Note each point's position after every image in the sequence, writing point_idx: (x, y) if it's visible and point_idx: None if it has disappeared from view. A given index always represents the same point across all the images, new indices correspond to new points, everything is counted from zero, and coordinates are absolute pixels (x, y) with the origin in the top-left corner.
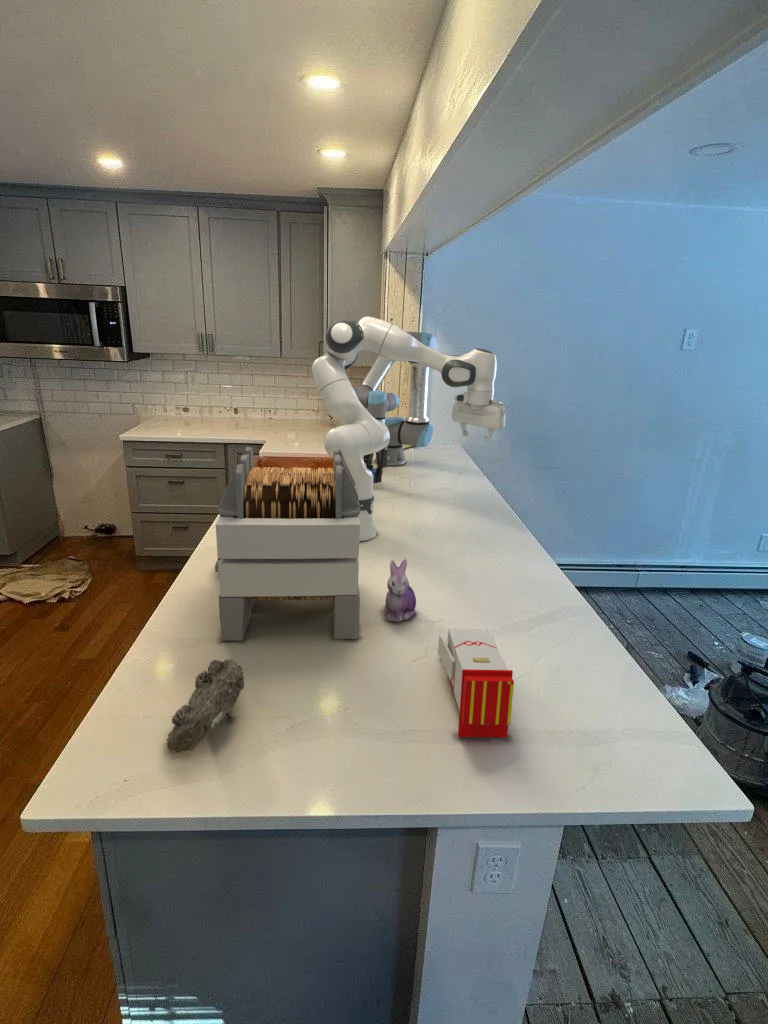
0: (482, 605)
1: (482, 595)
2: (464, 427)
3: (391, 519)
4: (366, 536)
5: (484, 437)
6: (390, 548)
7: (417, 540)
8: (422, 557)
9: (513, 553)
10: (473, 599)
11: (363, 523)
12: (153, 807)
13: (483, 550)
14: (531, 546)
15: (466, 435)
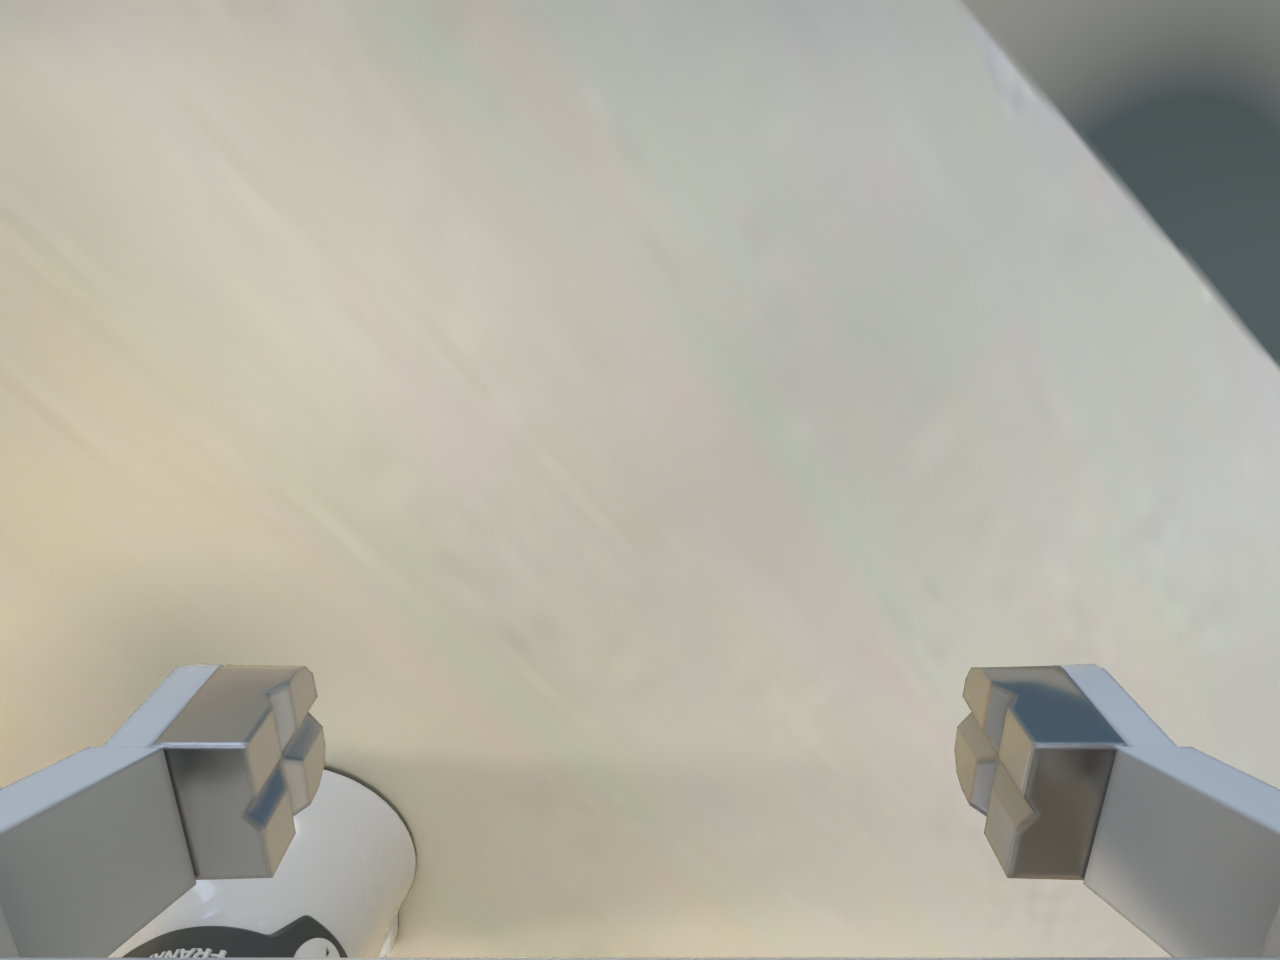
0: None
1: None
2: (50, 891)
3: (223, 573)
4: (405, 883)
5: (988, 837)
6: (560, 847)
7: (575, 691)
8: (739, 815)
9: (1093, 436)
10: (1132, 936)
11: (368, 953)
12: None
13: (929, 533)
14: (1151, 240)
15: (299, 721)
